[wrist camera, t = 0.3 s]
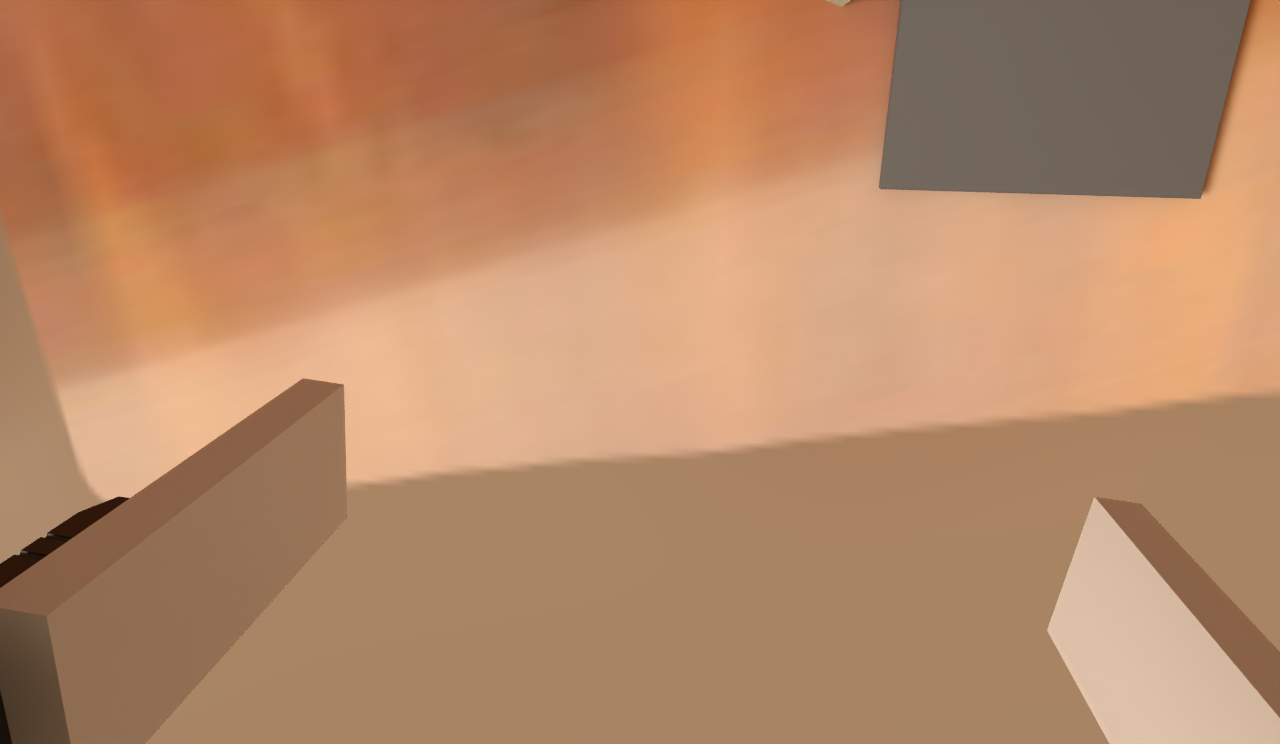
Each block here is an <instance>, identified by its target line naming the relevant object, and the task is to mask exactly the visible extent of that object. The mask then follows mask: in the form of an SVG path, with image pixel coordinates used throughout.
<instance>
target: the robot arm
mask: <svg viewBox="0 0 1280 744" xmlns="http://www.w3.org/2000/svg"><path fill="white" fill-rule="evenodd" d="M346 518H347V492H346V452H345V411H344V385H343V384H336V383H330V382H323V381H316V380H310V379H302V380H300V381H299V382H297V383H296V384H294V385H293V386H292V387H290V388H289V389H287V390H286V391H284V392H283V393H281V394H280V395H279V396H277V397H276V398H274V399H273V400H271V401H270V402H268V403H267V404H266V405H264V406H263V407H261V408H260V409H258V410H257V411H255V412H254V413H253V414H251V415H250V416H248V417H247V418H245V419H244V420H242V421H241V422H240V423H238V424H237V425H235V426H234V427H232V428H231V429H229V430H228V431H227V432H225V433H224V434H222V435H221V436H219V437H218V438H216V439H215V440H214V441H212V442H211V443H209V444H208V445H206V446H205V447H203V448H202V449H201V450H199V451H198V452H196V453H195V454H193V455H192V456H190V457H189V458H187V459H186V460H185V461H183V462H182V463H180V464H179V465H177V466H176V467H174V468H173V469H172V470H170V471H169V472H167V473H166V474H164V475H163V476H161V477H160V478H159V479H157V480H156V481H154V482H153V483H151V484H150V485H148V486H147V487H146V488H144V489H143V490H141V491H140V492H138V493H137V494H135V495H134V496H133V497H131V498H125V497H117V498H114V499H111V500H109V501H106V502H104V503H101V504H99V505H96V506H93V507H91V508H88V509H86V510H83V511H81V512H78V513H77V514H75V515H74V516H72V517H71V518H69V519H68V520H66V521H65V522H63V523H62V524H60V525H59V526H57V527H56V528H54V529H52V530H51V531H50V532H48V533H47V536H46V538H43V537H40V538H39V539H37V540H36V541H34V542H33V543H31V544H30V545H28V546H27V547H25V548H24V549H23V550H21V553H20V555H19V556H18V555H13V556H12V557H10V558H9V559H7V560H6V561H4V562H2V563H1V564H0V744H145V743H146V742H147V741H148V740H149V739H150V738H151V736H152V735H153V734H154V733H155V732H156V731H157V730H158V729H159V728H160V726H161V725H162V724H163V723H164V722H165V721H166V720H167V719H168V717H169V716H170V715H171V714H172V713H173V712H174V711H175V710H176V709H177V707H178V706H179V705H180V704H181V703H182V702H183V701H184V699H185V698H186V697H187V696H188V695H189V694H190V693H191V691H192V690H193V689H194V688H195V687H196V686H197V685H198V684H199V682H200V681H201V680H202V679H203V678H204V677H205V676H206V675H207V674H208V673H209V671H210V670H211V669H212V668H213V667H214V666H215V665H216V664H217V663H218V661H219V660H220V659H221V658H222V657H223V656H224V655H225V654H226V652H227V651H228V650H229V649H230V648H231V647H232V646H233V645H234V643H235V642H236V641H237V640H238V639H239V638H240V637H241V636H242V635H243V633H244V632H245V631H246V630H247V629H248V628H249V627H250V626H251V624H252V623H253V622H254V621H255V620H256V619H257V618H258V617H259V615H260V614H261V613H262V612H263V611H264V610H265V609H266V608H267V606H268V605H269V604H270V603H271V602H272V601H273V599H275V597H276V596H277V595H278V594H279V593H280V592H281V591H282V590H283V589H284V587H285V586H286V585H287V584H288V583H289V582H290V581H291V579H292V578H293V577H294V576H295V575H296V574H297V573H298V572H299V571H300V569H301V568H302V567H303V566H304V565H305V564H306V563H307V561H308V560H309V559H310V558H311V557H312V556H313V555H314V554H315V553H316V551H317V550H318V549H319V548H320V547H321V546H322V545H323V544H324V543H325V541H326V540H327V539H328V538H329V537H330V536H331V534H333V532H334V531H335V530H336V529H337V528H338V527H339V526H340V524H341V523H342V522H343V521H344V520H345V519H346ZM1047 631H1048V633H1049V634H1050V636H1051V638H1052V640H1053V642H1054V644H1055V645H1056V647H1057V649H1058V651H1059V653H1060V654H1061V657H1062V658H1063V660H1064V662H1065V664H1066V665H1067V667H1068V669H1069V671H1070V673H1071V675H1072V676H1073V678H1074V680H1075V682H1076V684H1077V685H1078V687H1079V689H1080V691H1081V693H1082V695H1083V696H1084V698H1085V700H1086V702H1087V704H1088V705H1089V707H1090V709H1091V711H1092V713H1093V714H1094V716H1095V718H1096V720H1097V722H1098V723H1099V725H1100V727H1101V729H1102V731H1103V733H1104V734H1105V736H1106V738H1107V740H1108V742H1109V743H1110V744H1280V652H1279V651H1278V650H1277V649H1276V647H1275V646H1274V645H1273V644H1272V643H1271V642H1270V641H1269V640H1268V639H1267V638H1266V637H1265V636H1264V635H1263V633H1262V632H1261V631H1260V630H1259V629H1258V628H1257V627H1256V626H1255V625H1254V624H1253V623H1252V622H1251V621H1250V620H1249V619H1248V617H1247V616H1246V615H1245V614H1244V613H1243V612H1242V611H1241V610H1240V609H1239V608H1238V607H1237V606H1236V605H1235V604H1234V602H1232V600H1231V599H1230V598H1229V597H1228V596H1227V595H1226V594H1225V593H1224V592H1223V591H1222V590H1221V589H1220V587H1218V585H1217V584H1216V583H1215V582H1214V581H1213V580H1212V579H1211V578H1210V577H1209V576H1208V575H1207V574H1206V573H1205V571H1203V569H1202V568H1201V567H1200V566H1199V565H1198V564H1197V563H1196V562H1195V561H1194V560H1193V559H1192V557H1191V556H1190V555H1189V554H1188V553H1187V552H1186V551H1185V550H1184V549H1183V548H1182V547H1181V546H1180V545H1179V544H1178V542H1177V541H1176V540H1175V539H1174V538H1173V537H1172V536H1171V535H1170V534H1169V533H1168V532H1167V531H1166V530H1165V529H1164V527H1163V526H1162V525H1161V524H1160V523H1159V522H1158V521H1157V520H1156V519H1155V518H1154V517H1153V516H1152V515H1151V514H1150V513H1149V512H1148V510H1147V509H1146V508H1145V507H1144V506H1143V505H1142V504H1138V503H1132V502H1125V501H1119V500H1112V499H1105V498H1099V497H1094V500H1093V503H1092V505H1091V508H1090V511H1089V514H1088V517H1087V520H1086V522H1085V525H1084V528H1083V531H1082V534H1081V536H1080V539H1079V542H1078V545H1077V548H1076V551H1075V553H1074V557H1073V559H1072V562H1071V565H1070V567H1069V570H1068V573H1067V576H1066V579H1065V581H1064V584H1063V588H1062V590H1061V593H1060V596H1059V598H1058V602H1057V604H1056V607H1055V610H1054V613H1053V615H1052V618H1051V621H1050V624H1049V627H1048V630H1047Z"/></svg>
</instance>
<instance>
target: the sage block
mask: <svg viewBox="0 0 1280 744" xmlns="http://www.w3.org/2000/svg"><path fill="white" fill-rule="evenodd" d="M826 1H829V2H831V3H833V4H836V5H838V6H841V7H843V6H844V5H845V4H847V3H848V2H849V1H851V0H826Z"/></svg>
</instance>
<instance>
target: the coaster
mask: <svg viewBox="0 0 1280 744" xmlns="http://www.w3.org/2000/svg"><path fill="white" fill-rule="evenodd" d="M1249 4H1250V0H901V1H900V10H899V19H898V27H897V36H896V44H895V53H894V62H893V70H892V79H891V88H890V96H889V105H888V114H887V122H886V131H885V140H884V148H883V157H882V166H881V174H880V183H879V188H880V189H897V190H930V191H963V192H996V193H1029V194H1061V195H1094V196H1127V197H1160V198H1193V199H1201V195H1202V191H1203V187H1204V183H1205V179H1206V175H1207V171H1208V167H1209V163H1210V159H1211V155H1212V151H1213V147H1214V143H1215V139H1216V135H1217V132H1218V128H1219V124H1220V120H1221V116H1222V112H1223V108H1224V104H1225V100H1226V96H1227V92H1228V88H1229V84H1230V80H1231V76H1232V72H1233V68H1234V64H1235V60H1236V56H1237V52H1238V48H1239V44H1240V40H1241V36H1242V32H1243V28H1244V24H1245V20H1246V16H1247V12H1248V8H1249Z"/></svg>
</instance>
